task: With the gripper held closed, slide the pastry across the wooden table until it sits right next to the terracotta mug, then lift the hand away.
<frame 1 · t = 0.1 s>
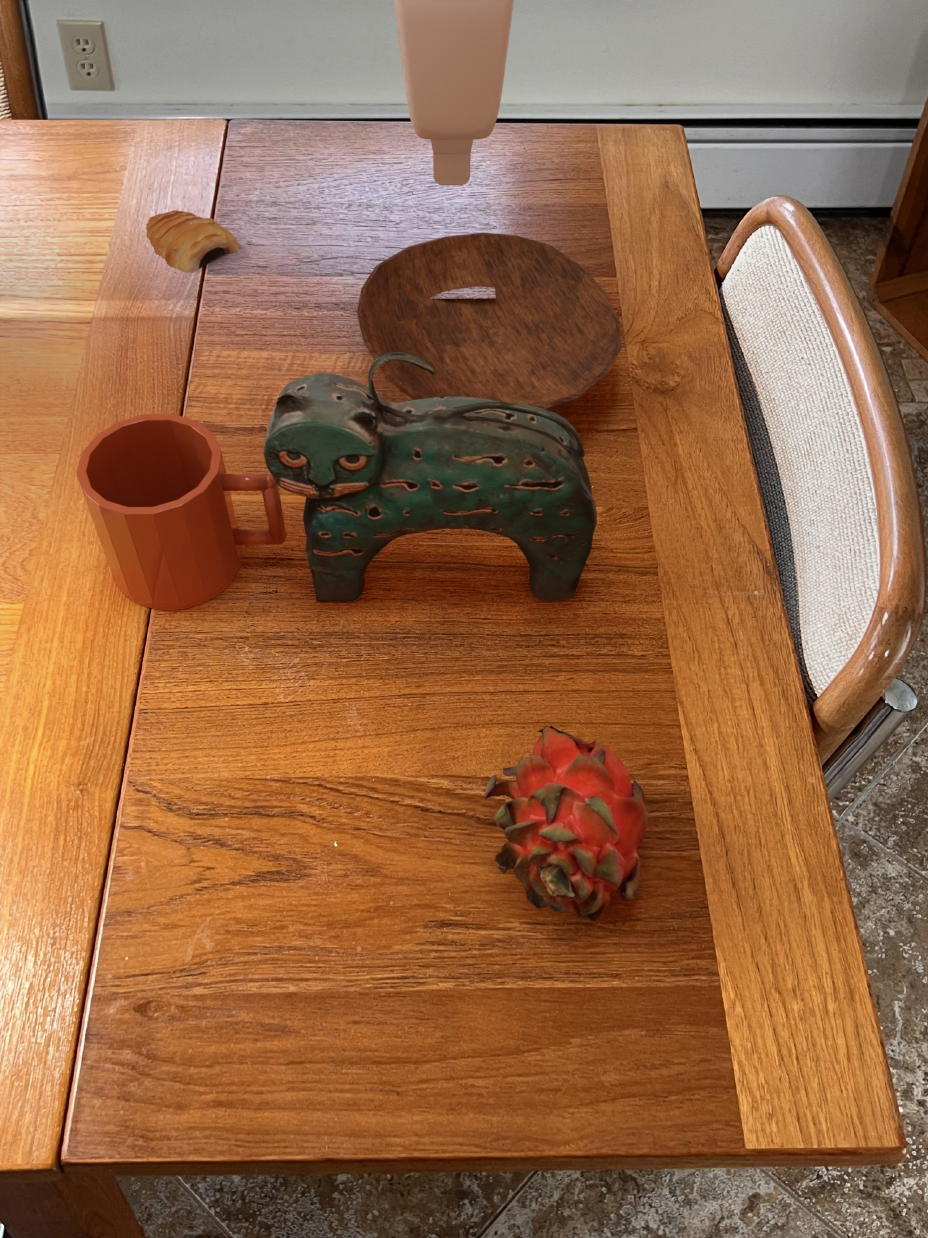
hand: (449, 126, 60), 29 cm above the table, tool pointing down, fingers open, 8 cm apart
bowl: (486, 368, 92), on the table
dragon fruit: (563, 847, 67), on the table
ceramic cat: (439, 581, 79), on the table
mug: (177, 560, 79), on the table
pastry: (193, 263, 100), on the table
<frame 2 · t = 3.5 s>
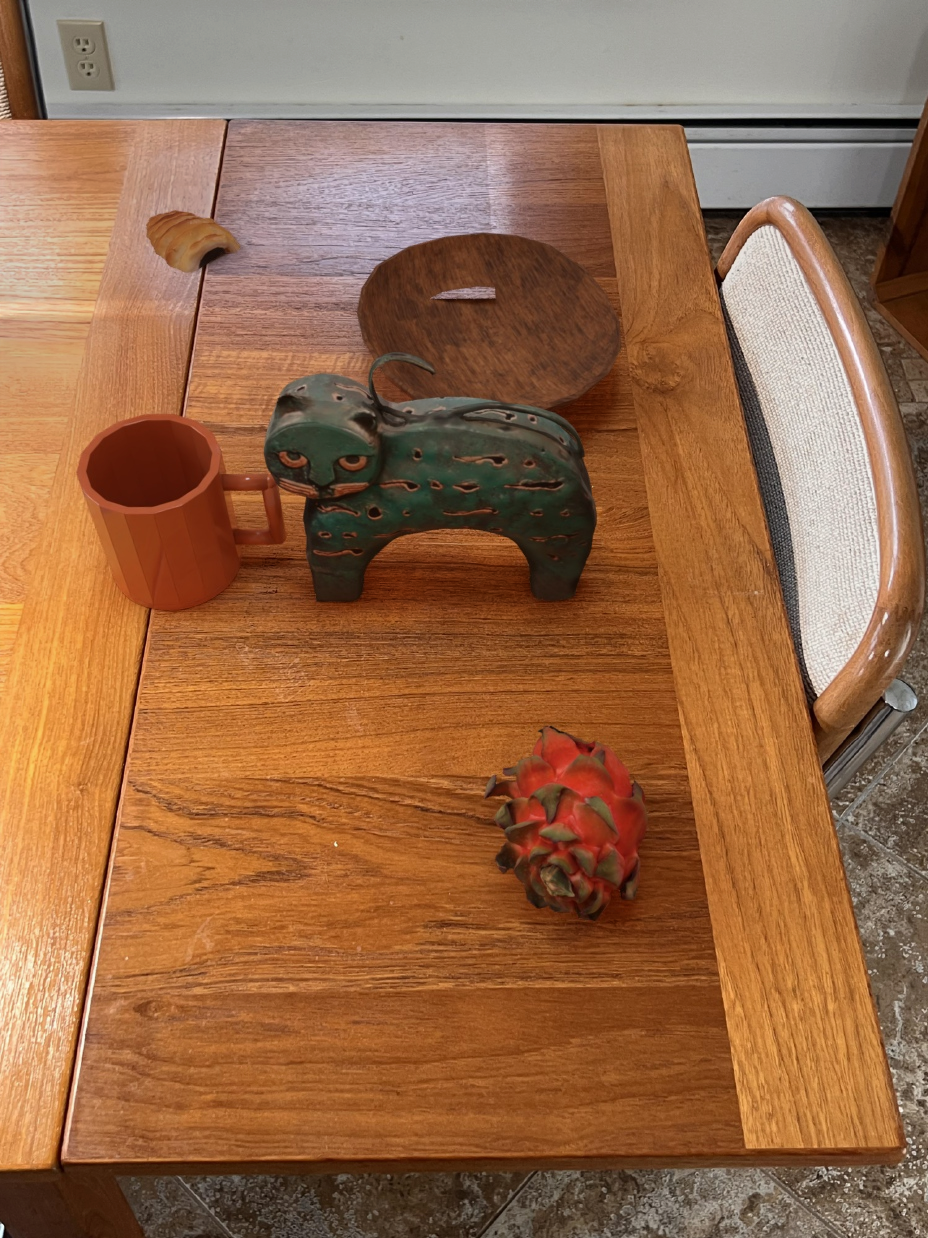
nothing on the table moved.
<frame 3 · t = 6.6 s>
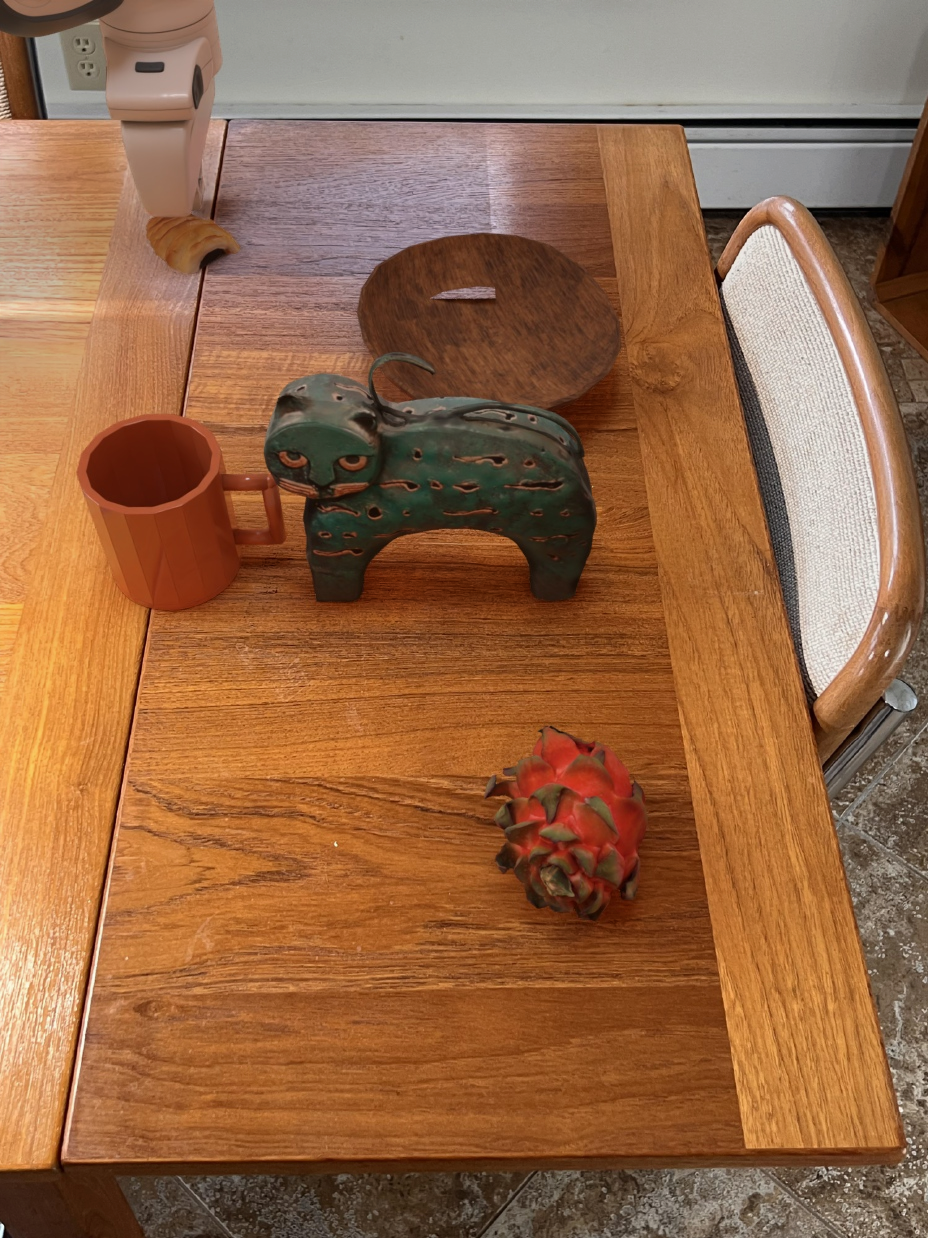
hand: (193, 202, 101), 3 cm above the table, tool pointing down, fingers closed
pastry: (193, 264, 100), on the table, touching gripper
everything else where it was.
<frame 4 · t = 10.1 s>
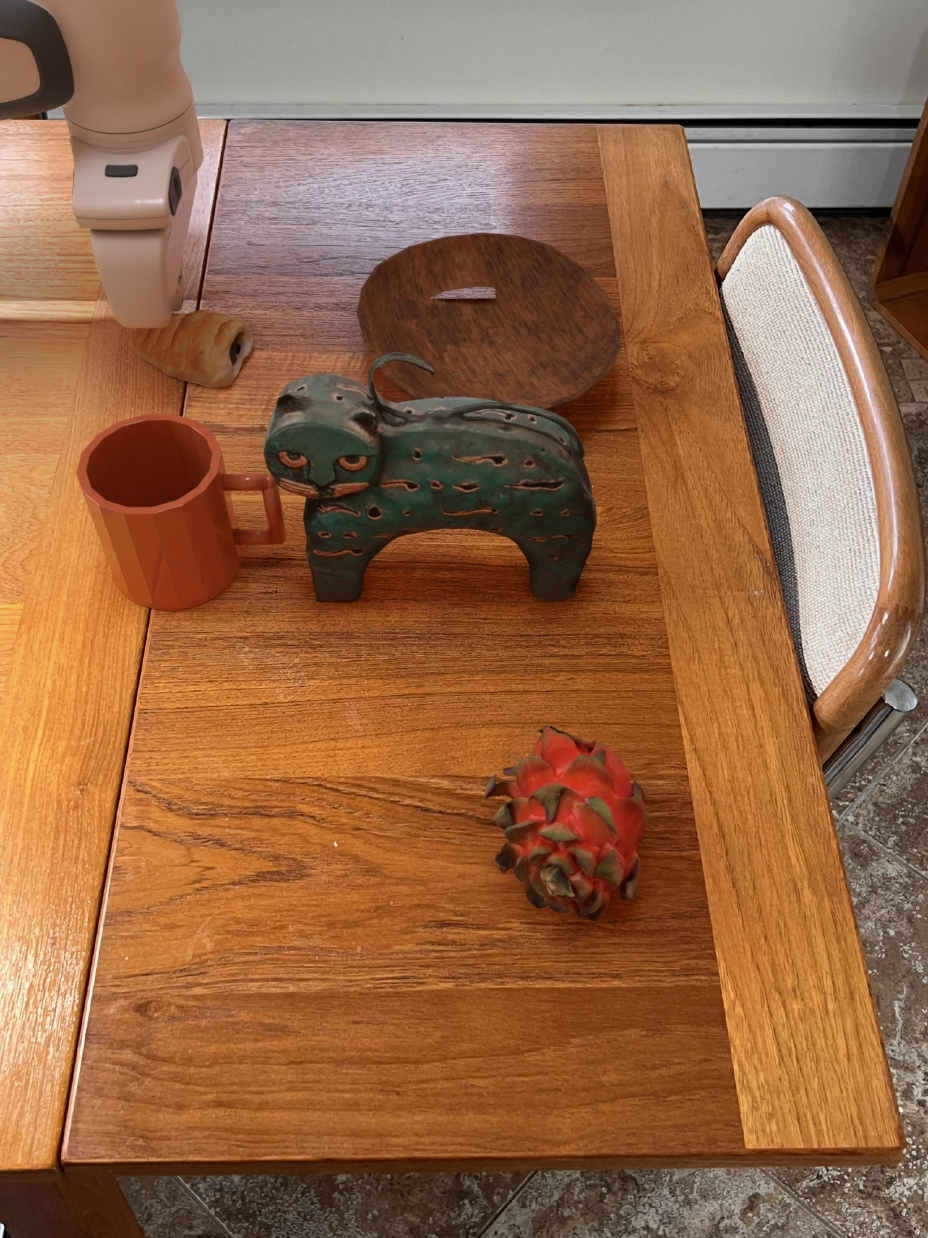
hand: (173, 300, 93), 3 cm above the table, tool pointing down, fingers closed
pastry: (198, 362, 92), on the table, touching gripper
everything else where it was.
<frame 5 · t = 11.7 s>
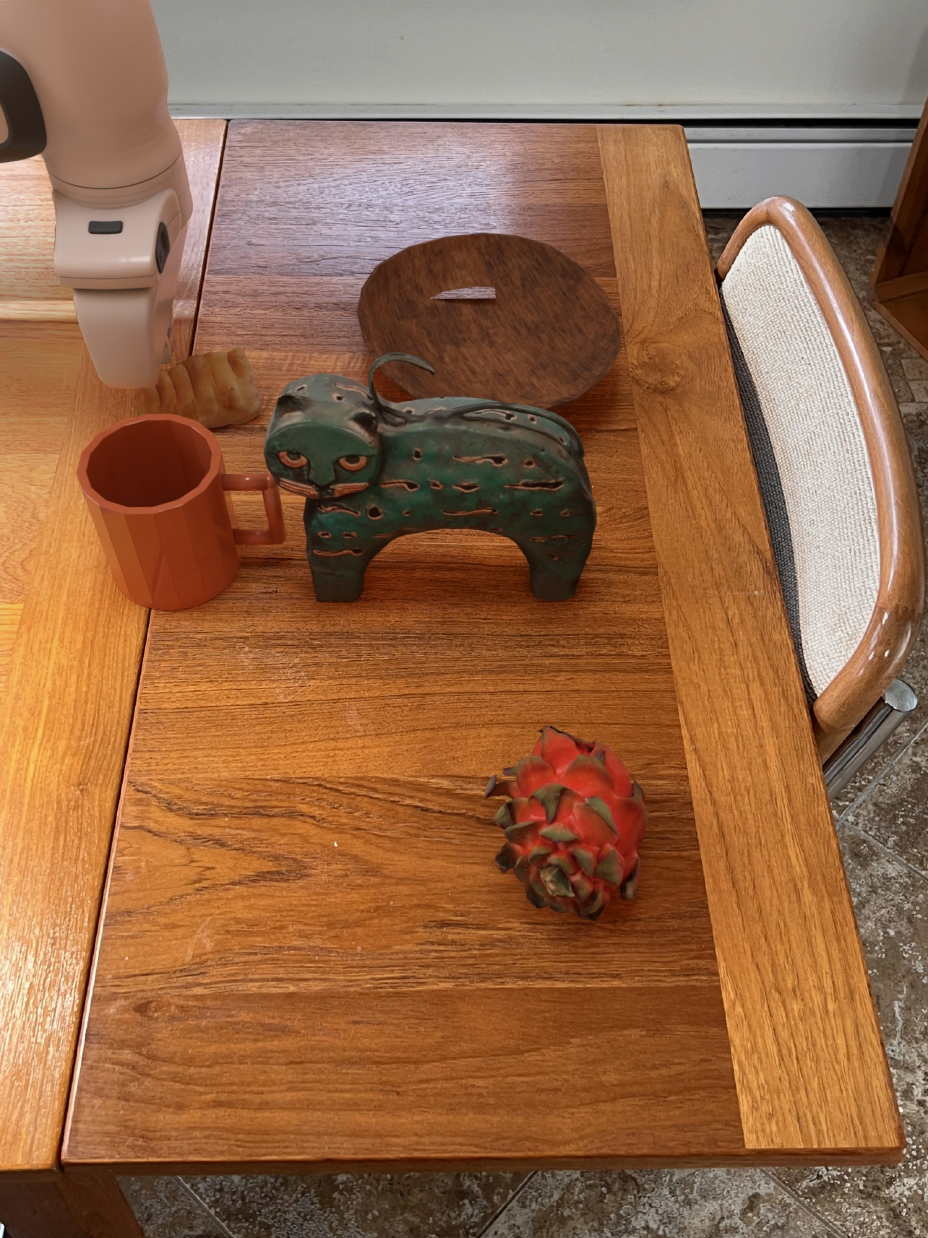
hand: (163, 353, 89), 3 cm above the table, tool pointing down, fingers closed
pastry: (209, 407, 89), on the table, touching gripper
everything else where it was.
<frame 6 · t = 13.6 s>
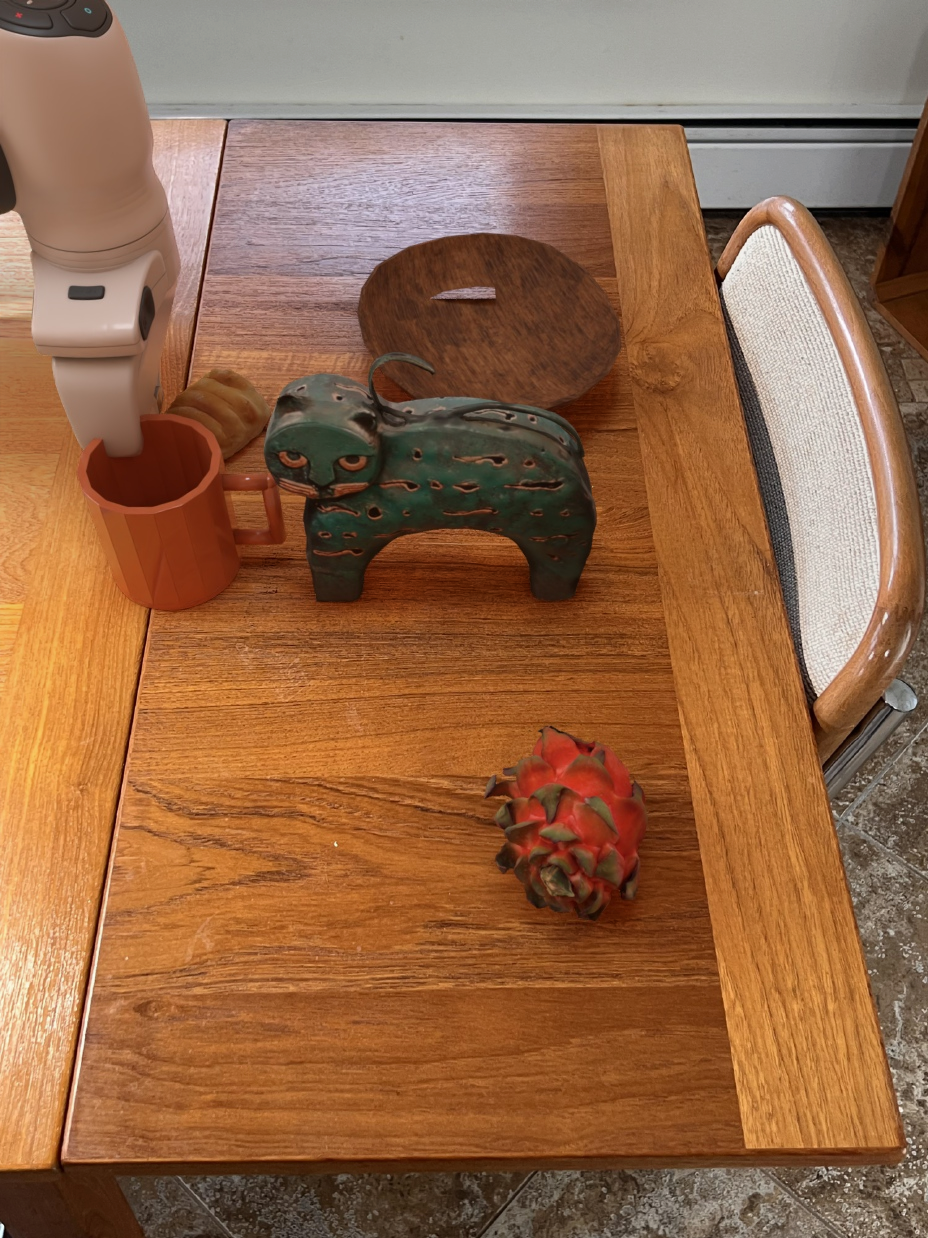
hand: (150, 412, 85), 3 cm above the table, tool pointing down, fingers closed
pastry: (214, 437, 87), on the table, touching gripper
everything else where it was.
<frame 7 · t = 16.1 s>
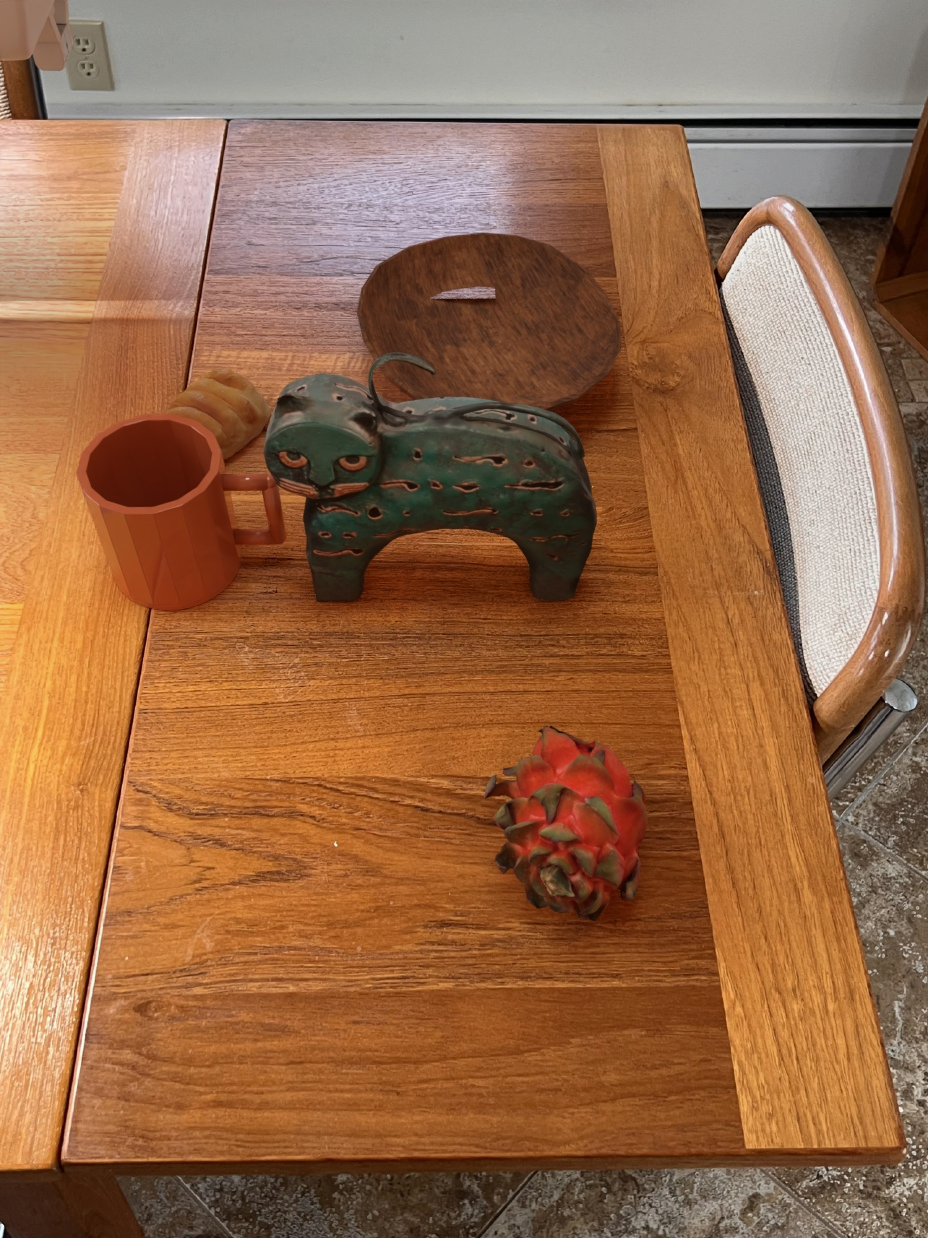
hand: (56, 59, 72), 25 cm above the table, tool pointing down, fingers closed
pastry: (215, 438, 87), on the table
everything else where it was.
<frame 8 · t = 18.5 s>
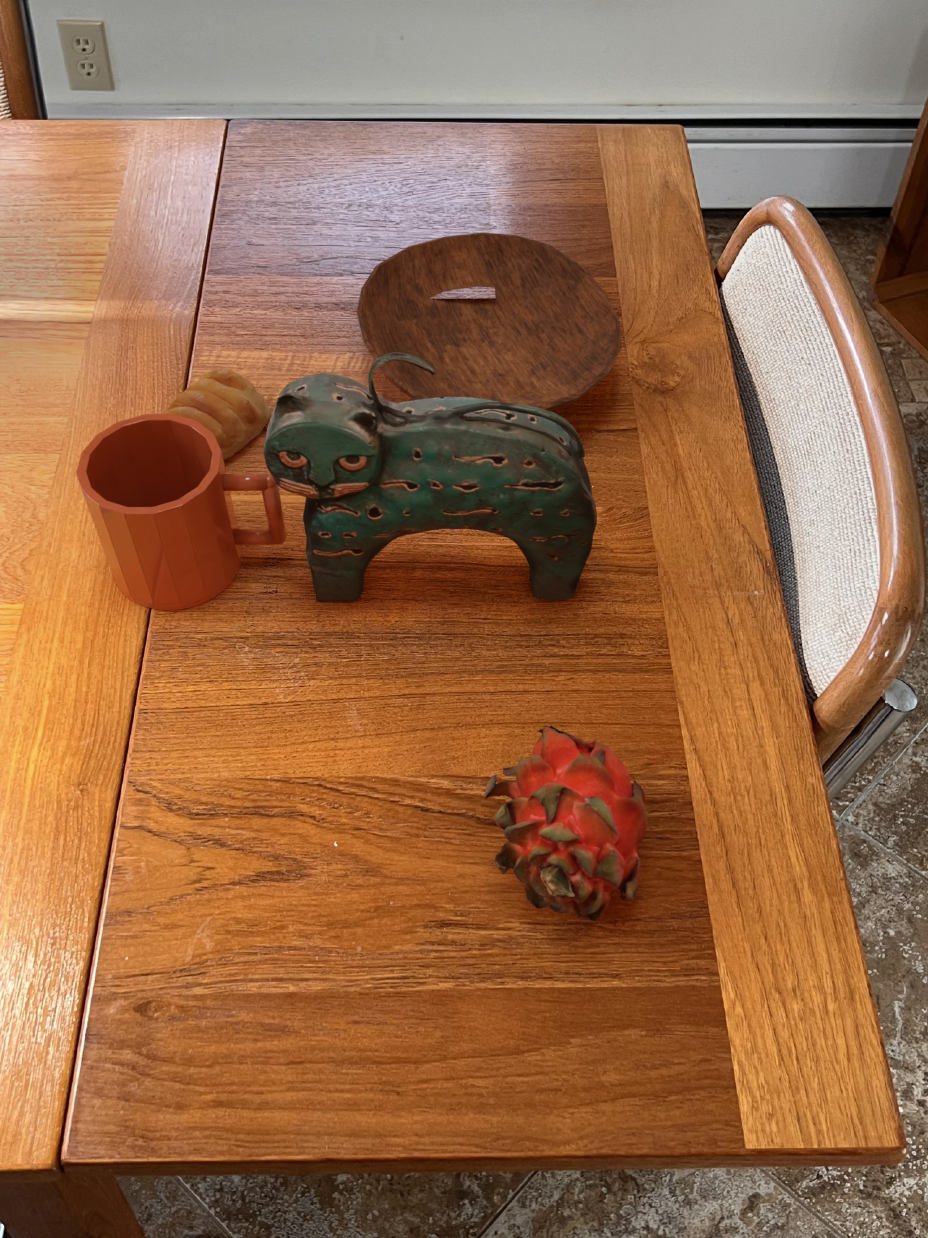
nothing on the table moved.
at the end: pastry 12.3 cm from the mug (horizontally); pastry moved 22.2 cm from its start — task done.
